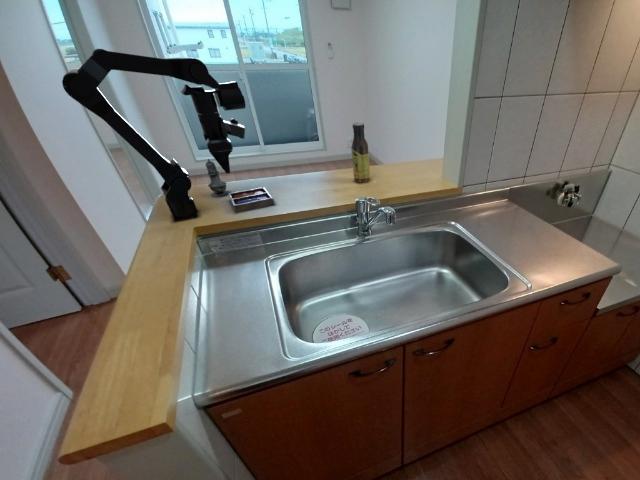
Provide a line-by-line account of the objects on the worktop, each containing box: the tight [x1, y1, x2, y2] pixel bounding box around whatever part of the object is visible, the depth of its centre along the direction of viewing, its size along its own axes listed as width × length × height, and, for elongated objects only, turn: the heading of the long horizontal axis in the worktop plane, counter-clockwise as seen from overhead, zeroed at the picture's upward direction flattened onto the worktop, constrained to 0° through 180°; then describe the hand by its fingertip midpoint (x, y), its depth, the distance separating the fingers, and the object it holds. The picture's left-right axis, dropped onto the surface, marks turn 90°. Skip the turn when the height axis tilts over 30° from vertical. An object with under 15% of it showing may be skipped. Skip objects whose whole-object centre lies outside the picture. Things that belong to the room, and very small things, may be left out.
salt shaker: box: [205, 158, 230, 198], centre depth 112 cm, size 6×6×12 cm
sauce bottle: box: [350, 122, 371, 184], centre depth 119 cm, size 7×6×20 cm
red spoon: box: [234, 191, 263, 198], centre depth 110 cm, size 10×3×2 cm, turn 120°
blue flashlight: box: [237, 196, 267, 204], centre depth 106 cm, size 10×3×2 cm, turn 121°
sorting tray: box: [227, 186, 275, 214], centre depth 109 cm, size 12×12×2 cm
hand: (226, 169), depth 102 cm, fingers open, 9 cm apart
